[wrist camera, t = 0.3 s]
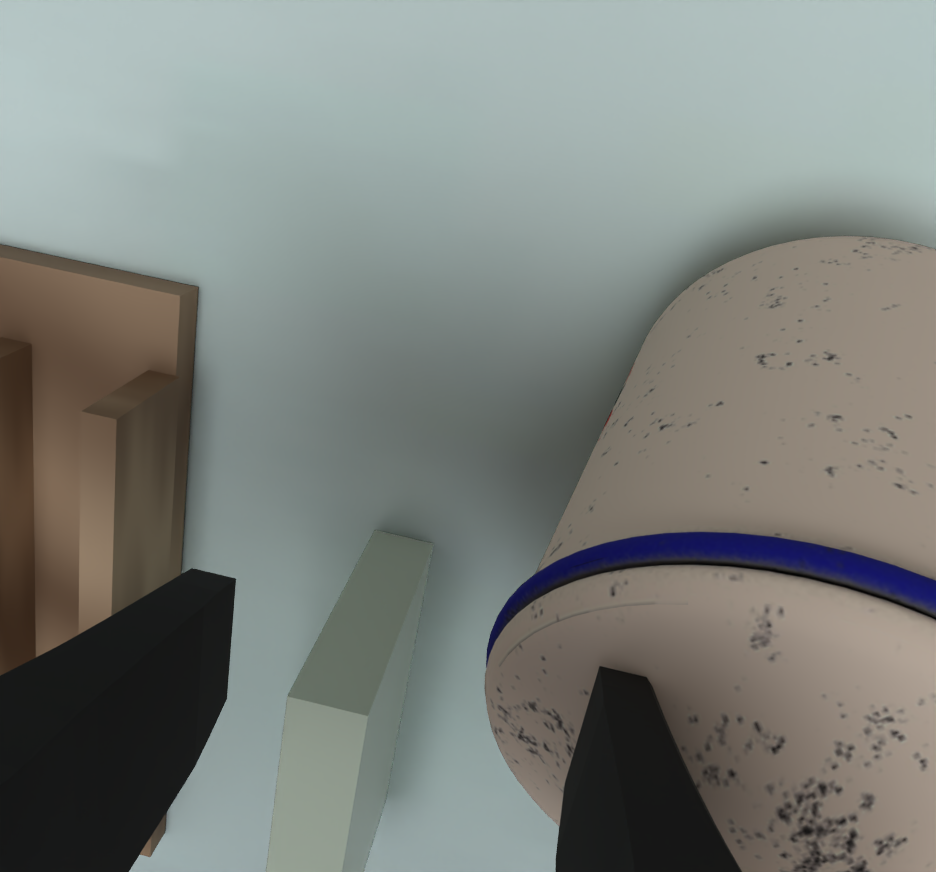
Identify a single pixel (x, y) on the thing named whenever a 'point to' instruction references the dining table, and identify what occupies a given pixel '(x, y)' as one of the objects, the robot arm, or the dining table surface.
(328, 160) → the dining table surface
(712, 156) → the dining table surface
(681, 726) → the beige mug
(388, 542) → the upright gray panel
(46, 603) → the walnut rack
